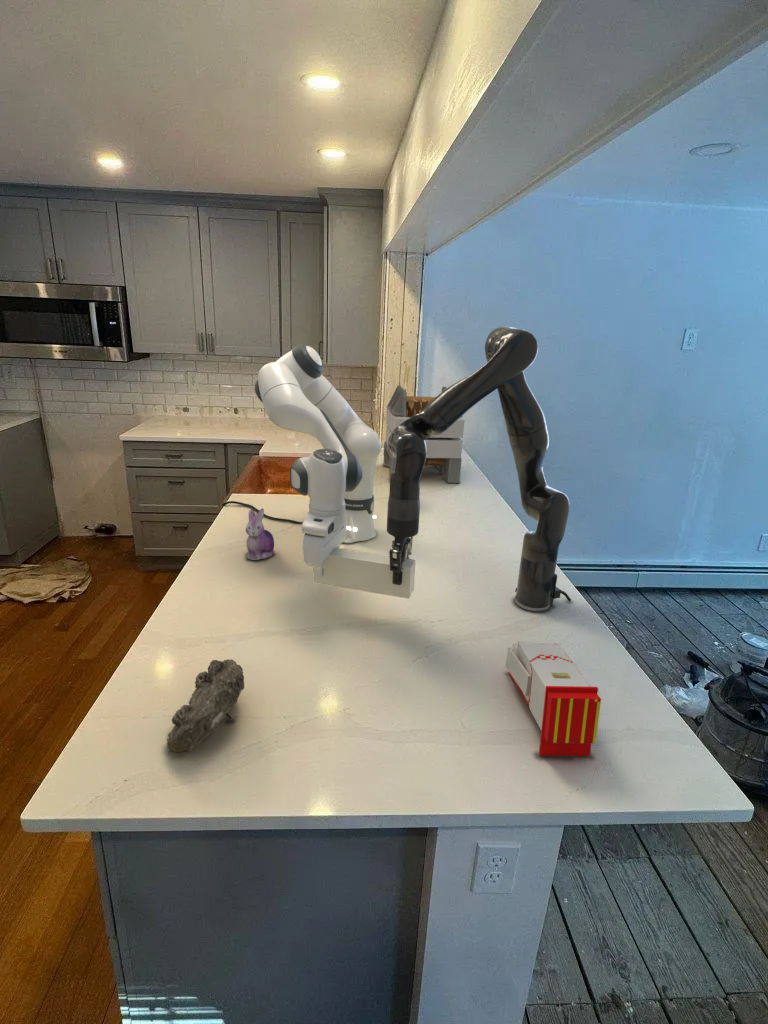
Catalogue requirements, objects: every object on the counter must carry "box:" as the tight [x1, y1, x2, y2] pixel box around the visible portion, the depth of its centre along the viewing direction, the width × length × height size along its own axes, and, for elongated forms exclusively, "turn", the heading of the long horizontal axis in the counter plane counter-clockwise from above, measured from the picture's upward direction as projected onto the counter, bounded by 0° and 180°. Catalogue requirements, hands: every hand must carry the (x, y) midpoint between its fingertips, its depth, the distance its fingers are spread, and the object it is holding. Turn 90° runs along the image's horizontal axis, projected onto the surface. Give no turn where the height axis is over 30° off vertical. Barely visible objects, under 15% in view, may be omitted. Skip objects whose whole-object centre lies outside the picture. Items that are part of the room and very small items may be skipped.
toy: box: [505, 641, 602, 757], centre depth 113 cm, size 12×13×30 cm
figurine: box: [245, 508, 275, 561], centre depth 176 cm, size 9×10×15 cm
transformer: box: [383, 384, 465, 484], centre depth 268 cm, size 34×33×41 cm
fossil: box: [166, 658, 245, 754], centre depth 106 cm, size 22×10×15 cm
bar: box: [312, 547, 417, 600], centre depth 140 cm, size 25×5×8 cm, turn 74°
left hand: (326, 568), depth 143 cm, fingers open, 8 cm apart
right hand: (400, 578), depth 138 cm, fingers closed on bar, 5 cm apart
